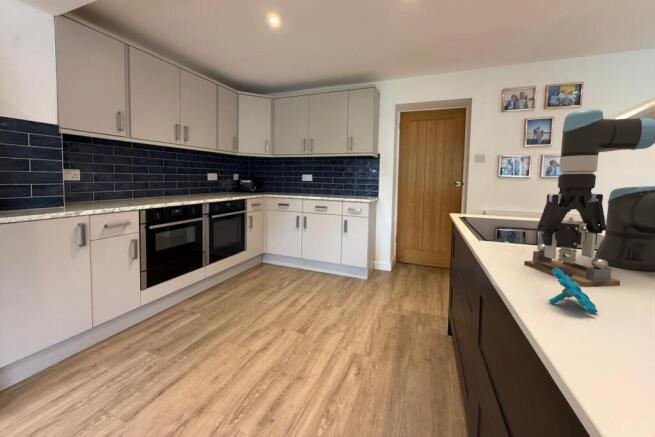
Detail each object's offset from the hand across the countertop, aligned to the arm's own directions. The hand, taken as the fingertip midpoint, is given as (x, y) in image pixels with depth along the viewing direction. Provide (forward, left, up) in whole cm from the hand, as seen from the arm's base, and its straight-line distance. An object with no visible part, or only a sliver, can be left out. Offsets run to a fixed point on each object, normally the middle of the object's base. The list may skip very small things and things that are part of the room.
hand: (568, 257), depth 81 cm
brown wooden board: (0, 0, -5) cm, 5 cm away
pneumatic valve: (0, 0, -2) cm, 2 cm away
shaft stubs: (0, 0, -3) cm, 3 cm away
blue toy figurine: (+18, +20, -5) cm, 27 cm away
